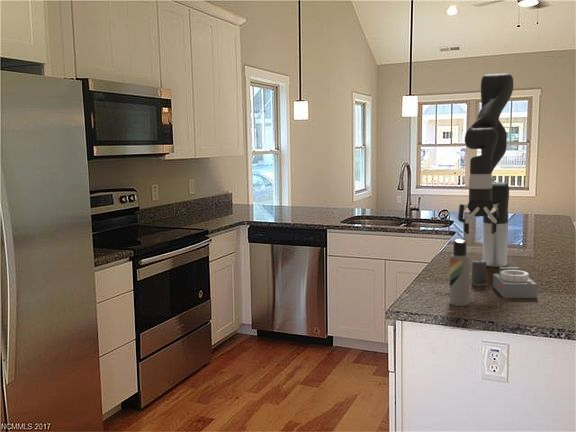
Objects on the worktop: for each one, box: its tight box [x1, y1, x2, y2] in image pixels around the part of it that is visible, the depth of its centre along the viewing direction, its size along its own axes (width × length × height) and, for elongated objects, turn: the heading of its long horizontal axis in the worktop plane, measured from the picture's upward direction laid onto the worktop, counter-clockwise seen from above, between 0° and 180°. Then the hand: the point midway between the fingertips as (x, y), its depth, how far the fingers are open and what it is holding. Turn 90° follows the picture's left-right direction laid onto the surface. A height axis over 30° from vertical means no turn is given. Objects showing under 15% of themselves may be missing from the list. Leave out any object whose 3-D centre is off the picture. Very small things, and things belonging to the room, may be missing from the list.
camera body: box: [492, 266, 538, 299], centre depth 180 cm, size 14×11×7 cm
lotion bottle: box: [449, 238, 471, 307], centre depth 168 cm, size 6×6×20 cm
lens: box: [471, 260, 487, 287], centre depth 191 cm, size 5×5×8 cm
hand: (479, 233), depth 189 cm, fingers open, 8 cm apart
